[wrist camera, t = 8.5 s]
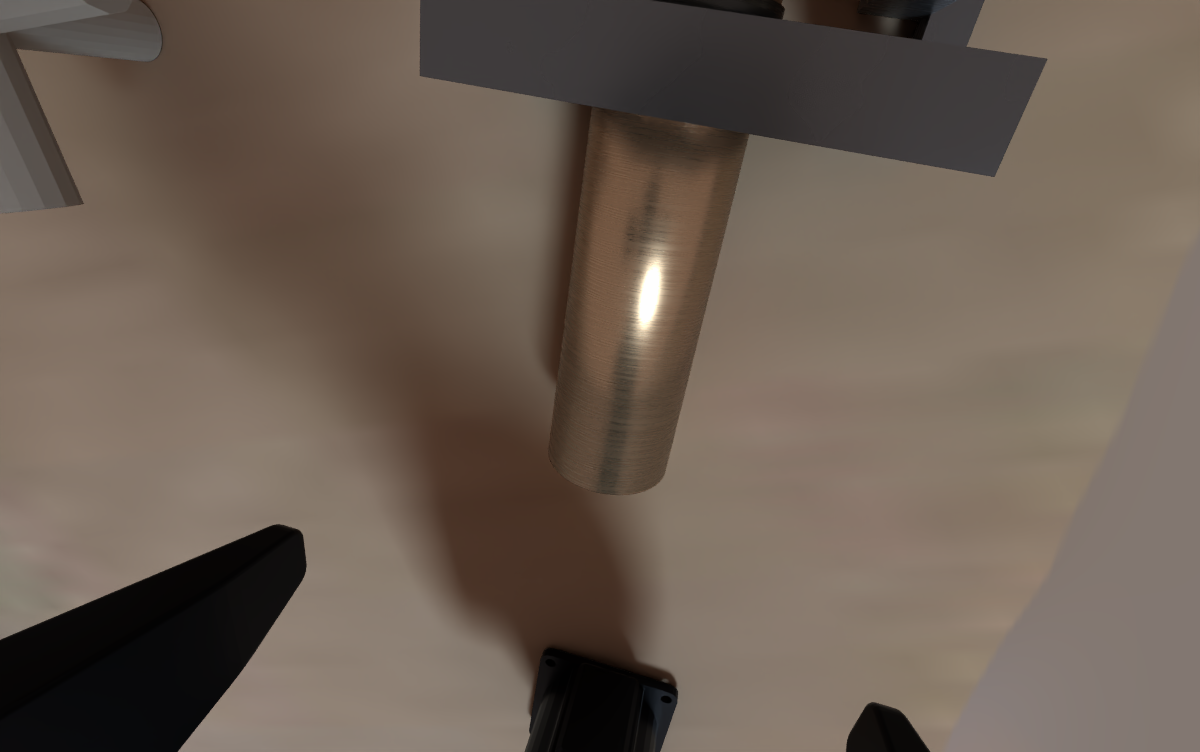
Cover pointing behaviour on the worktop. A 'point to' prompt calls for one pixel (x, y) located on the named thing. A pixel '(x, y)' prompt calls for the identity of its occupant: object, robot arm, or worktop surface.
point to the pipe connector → (9, 103)
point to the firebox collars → (750, 71)
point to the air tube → (640, 286)
